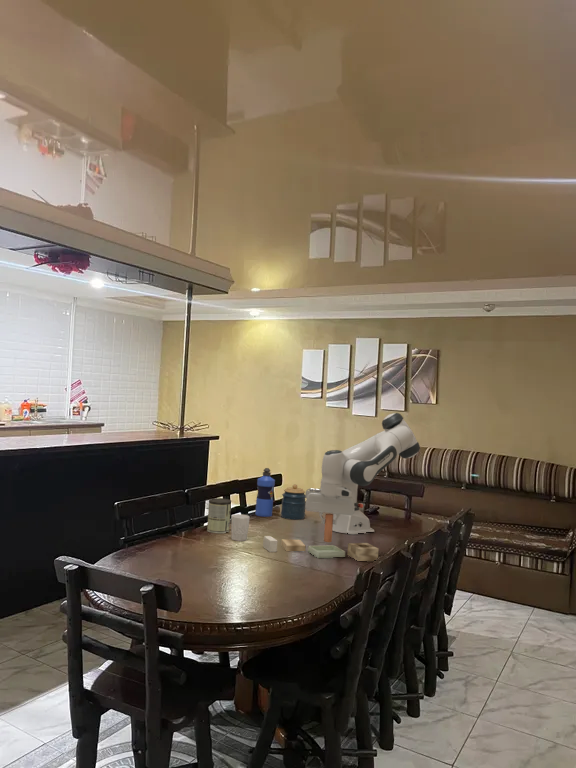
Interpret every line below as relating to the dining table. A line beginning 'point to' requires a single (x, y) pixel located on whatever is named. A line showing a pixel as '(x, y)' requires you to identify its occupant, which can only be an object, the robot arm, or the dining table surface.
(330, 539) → the dowel
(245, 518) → the white cup
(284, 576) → the dining table surface
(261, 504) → the water bottle
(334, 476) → the robot arm
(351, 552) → the socket block
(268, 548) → the white rectangular block
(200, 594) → the dining table surface
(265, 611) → the dining table surface
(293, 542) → the notched wooden block
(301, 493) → the canister
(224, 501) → the coffee can
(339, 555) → the tray
